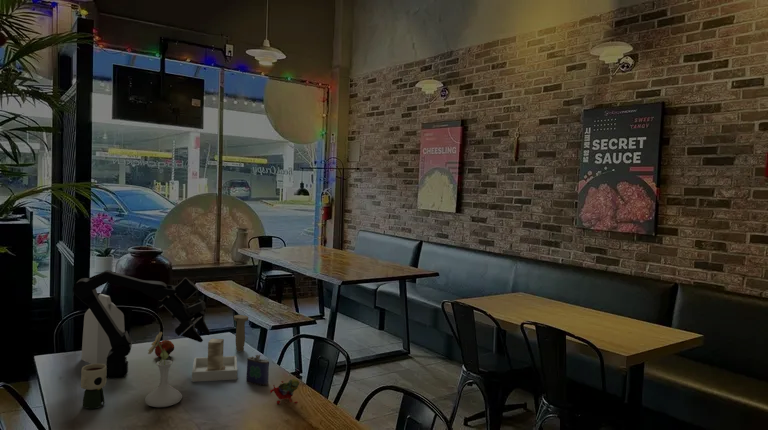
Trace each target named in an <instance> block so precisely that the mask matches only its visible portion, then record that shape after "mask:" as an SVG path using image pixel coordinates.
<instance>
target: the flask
mask: <svg viewBox="0 0 768 430" xmlns="http://www.w3.org/2000/svg"><path fill="white" fill-rule="evenodd" d="M261 357H262V356H261V354H255V355H254V356H249V357H247V360H246V361H247V362H246V376H245V377H246V378H245V379H246V380H245V381H246V383H249V384H252V385H256V386H265V387H266V386H268V385H269V375H270V374H269V370H270V360H268V359H260V358H261Z"/></svg>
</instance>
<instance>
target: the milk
mask: <svg viewBox="0 0 768 430" xmlns="http://www.w3.org/2000/svg"><path fill="white" fill-rule="evenodd" d="M98 298H99V300H100V301H101V303H102V304H103V306H104V307H105V309H106V310H107V312H108V313H109V315H110V317H111V318H112V320H113V321H114V323H115V324H116V326H117V327H118V329H119V330H120V331H122V332H123V333H124V332H125V331H126V330H125V315H124V312H123V311H122V310H121V309H119V308H118V307H117V305H116V304H114V302H112V299H111V296H110V295H107V294H103V293H99V294H98ZM81 345H82V346H81V358H80V359H81V361H84V362H86V363H89V364H97V363H99V364H105V365H107V356H108V353H109V351H110V350H111V349H112V347H111V344H110V341H109V337H108V336H107V334H106V333H105V331H104V329H103V328H102V326H101V325H100V323H99V322H98V320H97V319H96V317H95V316H94V314H93V313H92V311H91V310H90V308H89V307H88V309H87V310H86V311H85V312H84V317H83V330H82V344H81ZM125 357H127V356H125Z"/></svg>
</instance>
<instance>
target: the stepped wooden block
mask: <svg viewBox="0 0 768 430" xmlns="http://www.w3.org/2000/svg"><path fill="white" fill-rule="evenodd" d="M224 341H225V340H224V339H223V338H211V339H210V340H209V341H208V342H207V357H208V368H207V369H206V371H215V370H225V366H223V356H224V348H225V347H224V345H225V344H224Z"/></svg>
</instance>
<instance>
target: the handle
mask: <svg viewBox="0 0 768 430" xmlns="http://www.w3.org/2000/svg"><path fill="white" fill-rule="evenodd" d="M233 320H234V321H236V327H235V328H236V330H235V332H236V333H235V350H236V351H237V352H243V351H244V350H245V343H246V330H245V329H246V322H247V321H249V316H248V315H243V314H236V315H233Z"/></svg>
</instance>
